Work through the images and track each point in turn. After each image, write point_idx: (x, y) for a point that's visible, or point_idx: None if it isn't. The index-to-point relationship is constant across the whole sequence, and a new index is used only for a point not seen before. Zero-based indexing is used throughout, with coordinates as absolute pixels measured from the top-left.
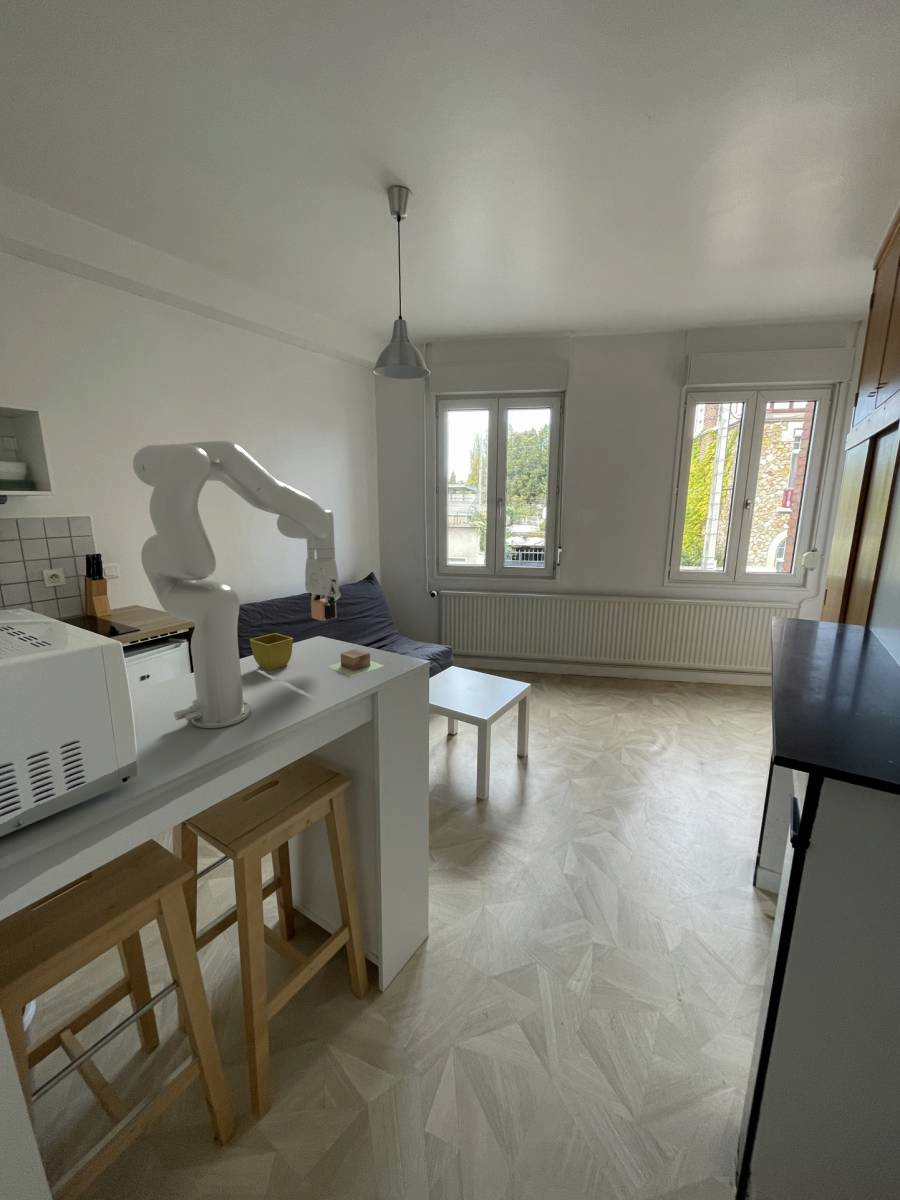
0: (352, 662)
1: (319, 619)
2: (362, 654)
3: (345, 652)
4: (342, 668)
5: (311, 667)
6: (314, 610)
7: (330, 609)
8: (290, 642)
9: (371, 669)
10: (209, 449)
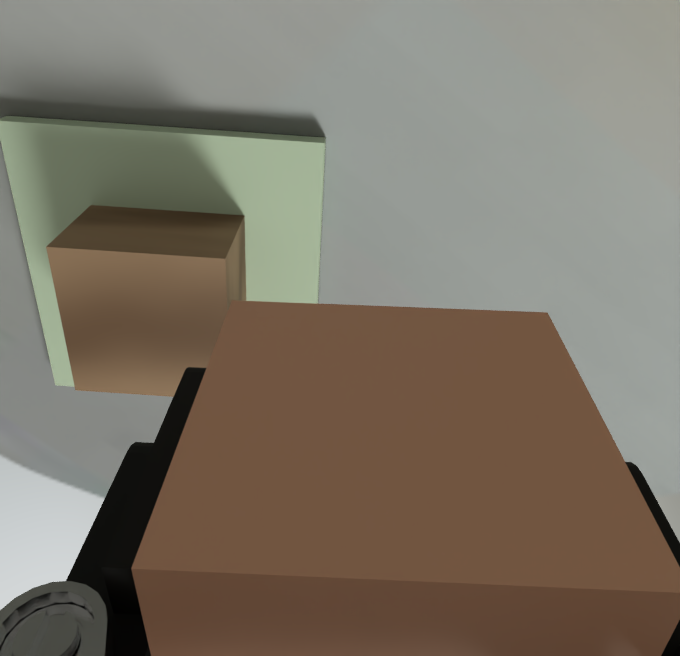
0: (76, 231)
1: (313, 309)
2: (81, 341)
3: (213, 295)
4: (199, 193)
5: (449, 82)
6: (480, 407)
7: (91, 544)
8: None
9: (50, 301)
10: None
